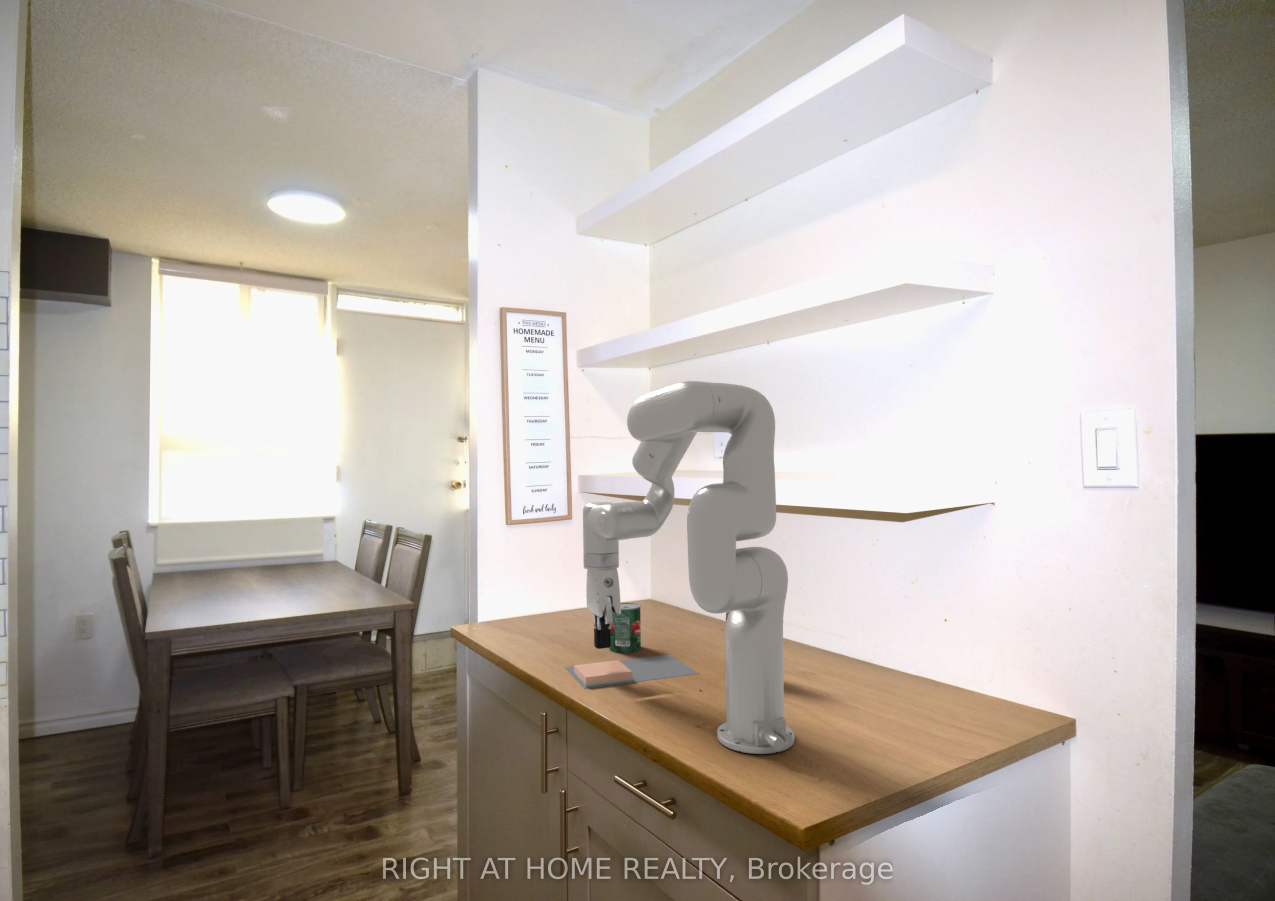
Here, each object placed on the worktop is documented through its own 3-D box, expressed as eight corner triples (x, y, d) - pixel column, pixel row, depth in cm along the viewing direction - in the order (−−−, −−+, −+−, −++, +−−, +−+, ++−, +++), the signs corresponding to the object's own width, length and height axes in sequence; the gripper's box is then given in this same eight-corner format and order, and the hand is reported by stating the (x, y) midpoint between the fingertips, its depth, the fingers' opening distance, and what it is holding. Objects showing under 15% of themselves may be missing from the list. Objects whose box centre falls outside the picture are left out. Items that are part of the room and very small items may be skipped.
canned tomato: (605, 648, 170) (604, 603, 171) (635, 644, 173) (634, 601, 173) (614, 656, 163) (613, 610, 163) (645, 653, 165) (644, 607, 165)
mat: (699, 675, 147) (698, 673, 147) (584, 691, 138) (584, 688, 138) (669, 656, 162) (669, 654, 162) (564, 669, 153) (564, 666, 153)
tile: (618, 668, 151) (632, 680, 143) (574, 674, 148) (585, 687, 139) (617, 659, 151) (631, 671, 143) (574, 665, 148) (585, 677, 139)
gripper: (629, 563, 140) (631, 654, 139) (607, 555, 154) (608, 637, 153) (594, 566, 137) (595, 658, 137) (574, 557, 151) (576, 640, 151)
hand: (602, 646), depth 145 cm, fingers closed
